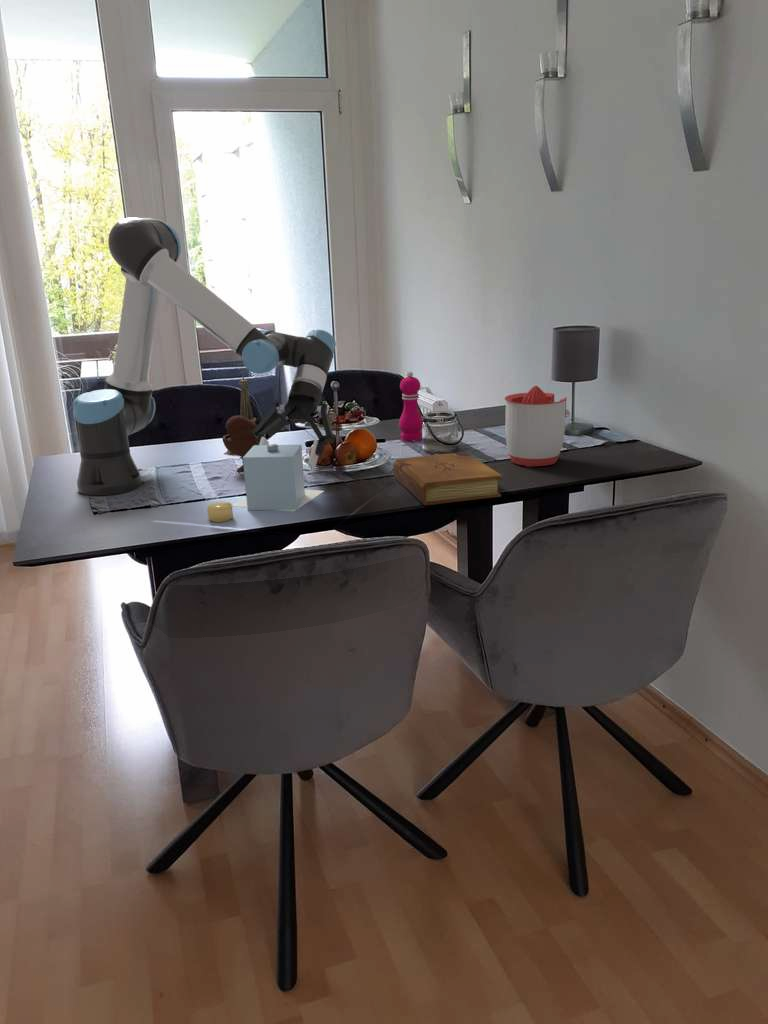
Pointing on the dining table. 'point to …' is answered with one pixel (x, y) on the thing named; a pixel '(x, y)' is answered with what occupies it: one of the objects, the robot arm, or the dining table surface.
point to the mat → (308, 496)
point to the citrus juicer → (534, 427)
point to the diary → (447, 478)
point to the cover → (274, 477)
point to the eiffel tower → (244, 404)
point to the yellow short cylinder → (220, 511)
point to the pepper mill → (410, 409)
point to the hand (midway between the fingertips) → (284, 465)
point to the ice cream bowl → (239, 437)
